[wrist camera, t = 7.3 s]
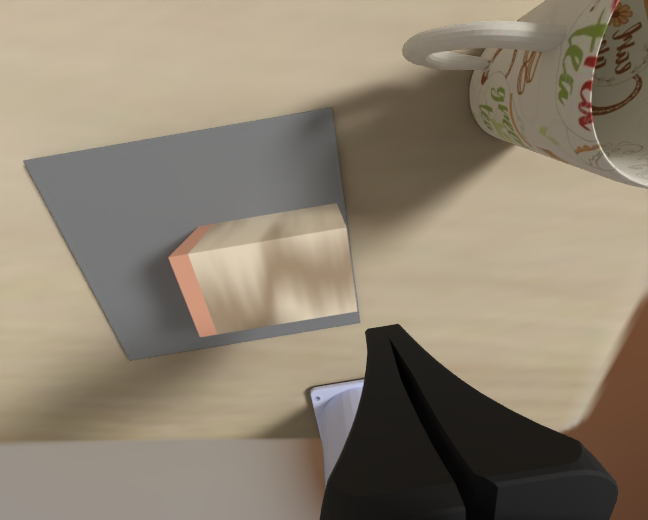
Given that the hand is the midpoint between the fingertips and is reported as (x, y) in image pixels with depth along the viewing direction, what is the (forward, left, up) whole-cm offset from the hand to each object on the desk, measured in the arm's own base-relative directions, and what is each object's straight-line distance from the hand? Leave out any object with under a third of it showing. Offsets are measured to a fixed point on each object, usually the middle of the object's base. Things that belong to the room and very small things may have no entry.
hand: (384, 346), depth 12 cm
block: (+1, +10, -7) cm, 12 cm away
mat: (+2, +9, -10) cm, 14 cm away
